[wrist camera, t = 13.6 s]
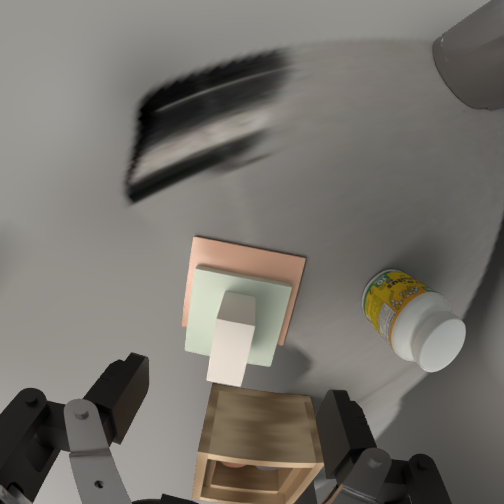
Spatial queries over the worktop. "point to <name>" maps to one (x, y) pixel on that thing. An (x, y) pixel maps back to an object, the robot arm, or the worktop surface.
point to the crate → (256, 447)
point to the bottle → (307, 495)
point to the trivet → (245, 269)
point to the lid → (234, 321)
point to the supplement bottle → (413, 319)
